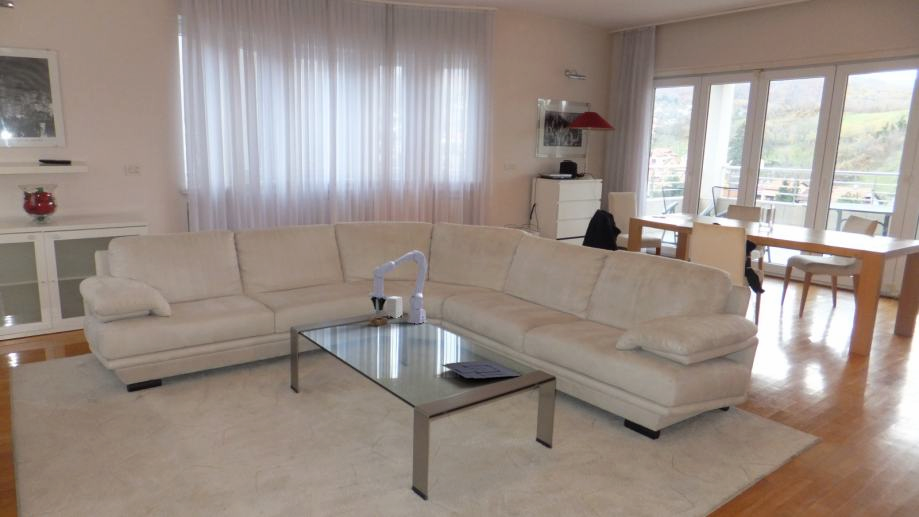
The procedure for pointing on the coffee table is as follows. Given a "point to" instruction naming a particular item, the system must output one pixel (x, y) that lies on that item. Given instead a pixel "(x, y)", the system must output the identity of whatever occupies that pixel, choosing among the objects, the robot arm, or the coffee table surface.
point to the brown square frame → (378, 321)
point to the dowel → (377, 307)
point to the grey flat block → (479, 369)
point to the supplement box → (394, 306)
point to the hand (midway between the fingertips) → (378, 309)
